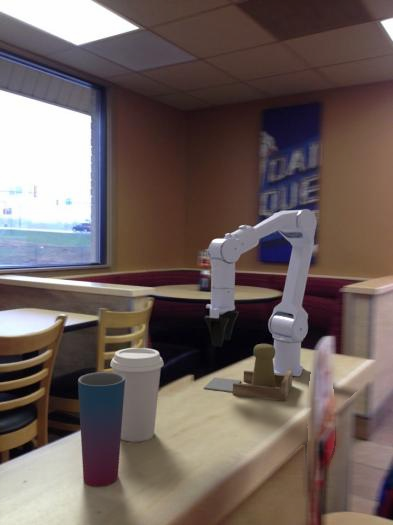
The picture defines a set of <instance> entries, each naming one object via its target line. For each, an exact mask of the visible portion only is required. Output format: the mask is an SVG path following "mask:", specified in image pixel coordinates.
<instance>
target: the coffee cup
mask: <svg viewBox="0 0 393 525" xmlns="http://www.w3.org/2000/svg"><path fill="white" fill-rule="evenodd" d="M164 365H165V364H164V360H163V358H162V357H161V355H160V352H159V351H158V350H156V349H153V348H147V347H130V348H124V349H119V350H117V351H115V353H114V356H113V357H112V359H111V361H110V367H111V368H112V373H118V374H121V375H123V376H124V377H125V388H124V401H123V415H122V428H121V440H122V441H125V442H129V443H139V442H145V441H148V440H150V439H152V438H153V437H154V435H155V428H156V420H157V418H156V417H157V407H158V397H159V387H160V378H161V368H162V367H164Z"/></svg>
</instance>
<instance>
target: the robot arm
mask: <svg viewBox="0 0 393 525" xmlns="http://www.w3.org/2000/svg"><path fill="white" fill-rule="evenodd" d="M317 223H318V221H317V219H316V217H315V215H314V213H313V212H312V211H311V209H307V208H304V209H295V210H284V209H283V210H280V211H279V212H274V213H273V214H272V215H271V216H270V217H268V218H266V219H264V220H263V221H261V222H259V223H258V224H256V225H254V226H251V225H247V224H243V225H240V226H238V229H237V230H235V231H233V232H231V233H229V232H228V233H225V234H224V237H223V238H214V239H213V240H211V242H210V244H209V246H208V248H207V249H206V255H207V257H208V259H209V261H210V267H211V275H210V276H211V277H210V283H211V284H210V285H211V286H210V304H209V303H207V304H206V305H205V308H206V309H209V315H205V316H204V321H205V323H206V325H207V328H208V331H209V335H210V339H211V344H212V347H217V348H218V347H219V348H222V347H223V344H224V341H230V340H231V337H232V334H233V329H234V325H235V322H236V320H237V318H238V316H239V311H237V310H235V309H236V306H235V291H236V290H235V286H236V285H235V284H236V283H235V282H236V281H235V280H236V262H238V261H239V259H240V257H241V255H243V254H244V253H246V252H248V251H250V250H252V249H254V248H255V247H256V246H258V245H259V243H260V242H259V241H260V239H262V238H264V237H266V236H269V235H270V234H271V235H272V234H273V233H275V232H278V233H279V234H280V235H282V236H283V238H284V239H285V240H286V241H288V242H289V243H290V245H291V246H292V248H291V254H290V260H289V264H288V269H287V272H286V273H287V274H286V278H285V284H284V288H283V294H282V299H281V302H280V303H279V304H277V305H276V306H275V307H273V311H272V314H271V316H270V317H269V319H268V323H267V326H268V330H269V332H270V333H271V334H272V339H273V347H274V348H275V351H276V352H275V357H274V358H273V365H274V374H281V375H286V373H287V371H288V369H290V370H292V377H300V376H301V375H302V372H303V369H304V366H303V365H301V355H302V354H301V351H302V350H301V349H302V342H303V341H304V339H305V337H306V336H307V335H308V331H309V330H308V329H309V324H308V319H309V314H308V313H307V311H306V310H305V309H304V307H303V300H304V296H305V290H306V285H307V281H308V276H309V271H310V265H311V260H312V255H313V251H314V250H313V249H314V246H315V245H314V244H315V233H316V230H317V229H316V228H317Z"/></svg>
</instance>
